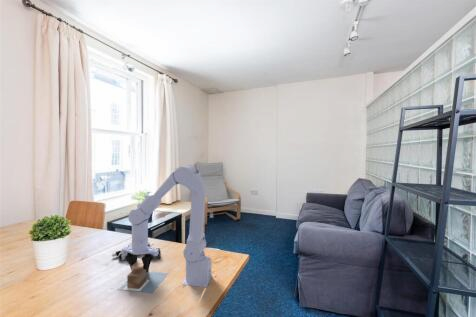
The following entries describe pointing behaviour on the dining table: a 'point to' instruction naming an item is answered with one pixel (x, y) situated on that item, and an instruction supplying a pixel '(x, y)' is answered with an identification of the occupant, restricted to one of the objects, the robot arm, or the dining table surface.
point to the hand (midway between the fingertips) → (140, 271)
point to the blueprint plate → (147, 283)
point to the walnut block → (136, 278)
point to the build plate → (157, 255)
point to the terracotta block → (138, 265)
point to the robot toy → (122, 256)
